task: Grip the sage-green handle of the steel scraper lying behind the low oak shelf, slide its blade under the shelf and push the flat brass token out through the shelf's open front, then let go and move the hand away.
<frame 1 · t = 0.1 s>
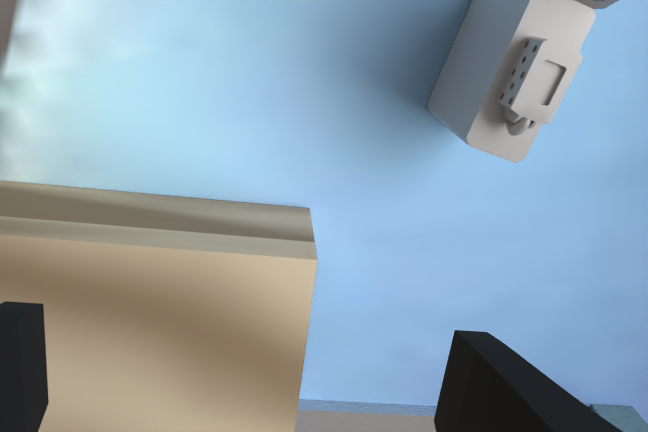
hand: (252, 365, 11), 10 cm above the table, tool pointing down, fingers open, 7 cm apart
lighter: (494, 11, 19), on the table
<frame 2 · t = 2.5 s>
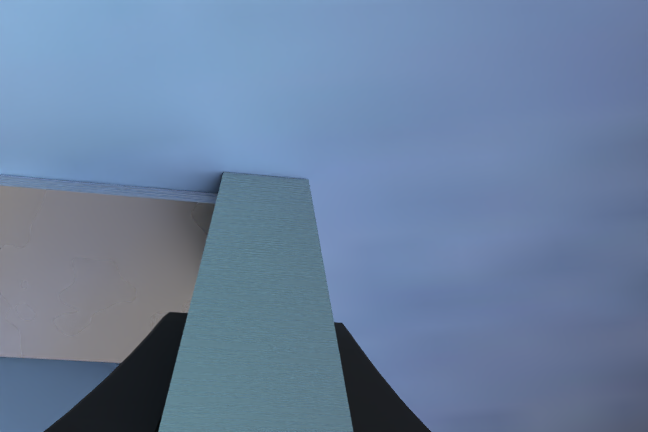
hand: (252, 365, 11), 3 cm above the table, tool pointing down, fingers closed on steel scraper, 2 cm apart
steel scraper: (256, 280, 14), on the table, touching gripper
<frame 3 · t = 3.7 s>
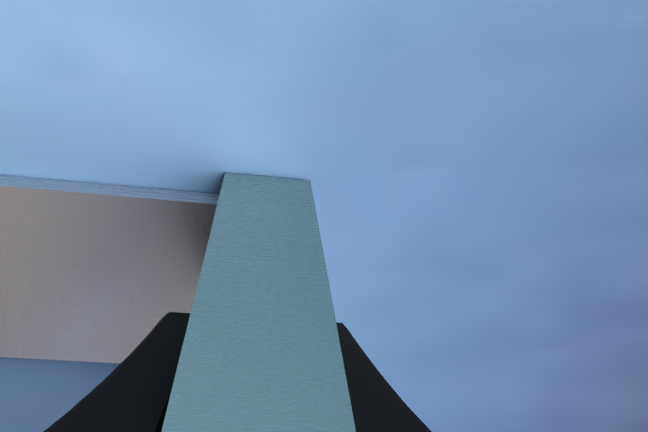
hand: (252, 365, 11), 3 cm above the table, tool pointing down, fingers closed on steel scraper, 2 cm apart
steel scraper: (258, 281, 14), on the table, touching brass token, gripper
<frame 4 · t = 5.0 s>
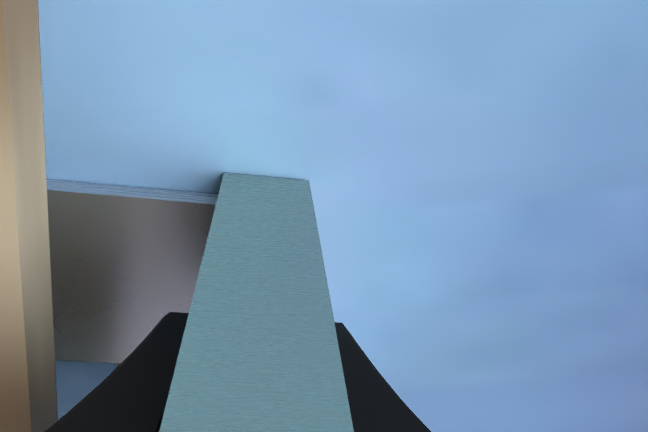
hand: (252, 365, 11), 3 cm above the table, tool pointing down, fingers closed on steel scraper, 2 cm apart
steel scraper: (257, 281, 14), on the table, touching gripper
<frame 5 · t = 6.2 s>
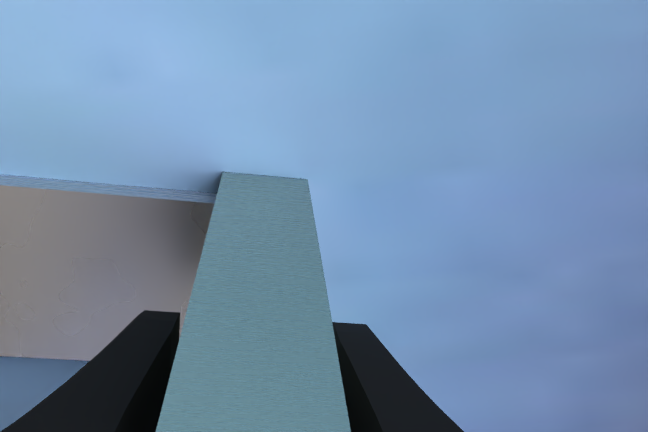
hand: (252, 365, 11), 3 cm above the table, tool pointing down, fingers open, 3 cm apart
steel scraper: (256, 280, 14), on the table
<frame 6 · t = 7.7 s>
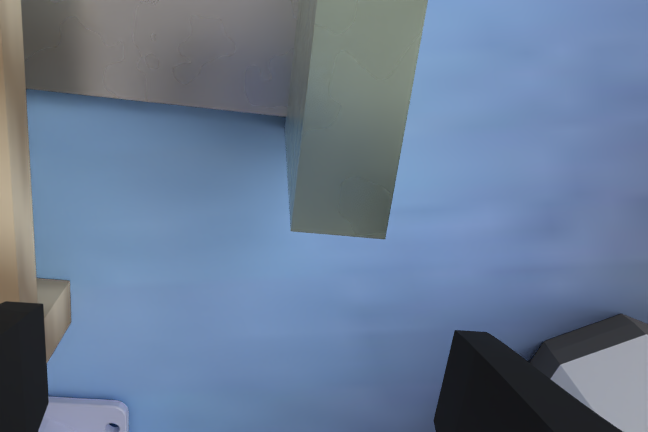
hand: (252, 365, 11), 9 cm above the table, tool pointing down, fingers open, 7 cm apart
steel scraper: (323, 49, 18), on the table
wine bottle: (597, 396, 24), on the table
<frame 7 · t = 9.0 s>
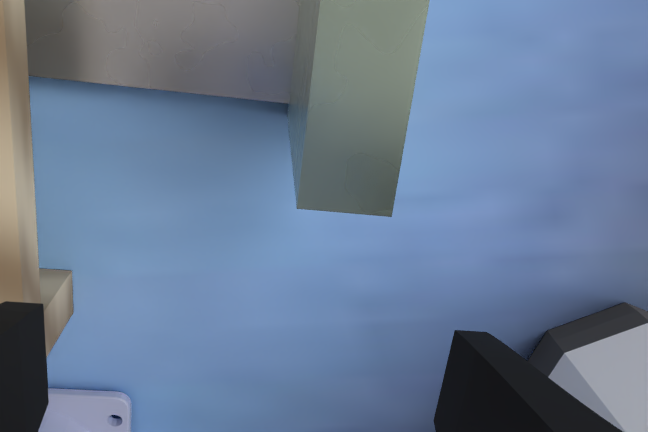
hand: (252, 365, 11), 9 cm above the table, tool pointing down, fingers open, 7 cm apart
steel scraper: (325, 36, 18), on the table
wine bottle: (601, 386, 24), on the table
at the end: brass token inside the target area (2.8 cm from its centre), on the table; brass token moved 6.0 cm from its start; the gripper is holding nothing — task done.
